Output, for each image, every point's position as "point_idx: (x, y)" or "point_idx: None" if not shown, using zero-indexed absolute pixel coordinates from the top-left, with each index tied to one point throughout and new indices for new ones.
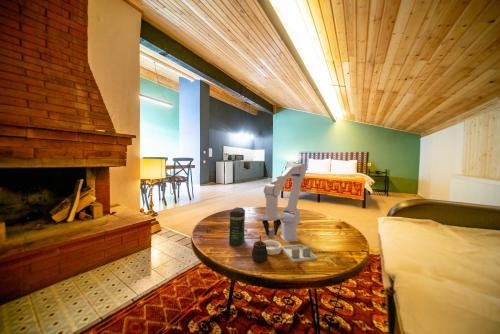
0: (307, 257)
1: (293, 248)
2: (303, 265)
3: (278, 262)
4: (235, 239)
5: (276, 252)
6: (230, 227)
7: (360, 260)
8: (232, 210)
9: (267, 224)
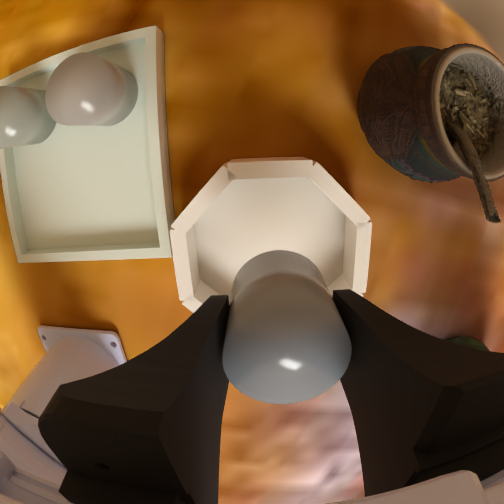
0: (42, 66)
1: (89, 94)
2: (103, 17)
3: (267, 56)
4: None
5: (247, 159)
6: None
7: None
8: None
9: (481, 370)
